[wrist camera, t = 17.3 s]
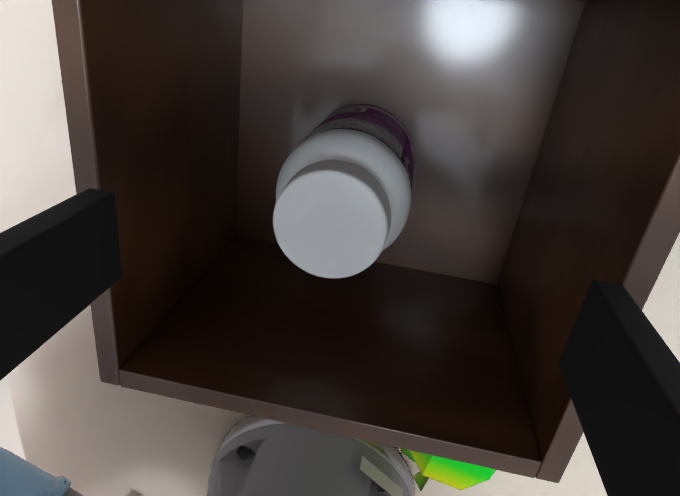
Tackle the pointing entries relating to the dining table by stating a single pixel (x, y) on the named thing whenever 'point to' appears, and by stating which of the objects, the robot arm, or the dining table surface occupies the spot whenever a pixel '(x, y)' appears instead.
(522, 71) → the bin
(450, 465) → the green faceted ball
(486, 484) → the dining table surface
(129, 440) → the dining table surface
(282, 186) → the pill bottle
